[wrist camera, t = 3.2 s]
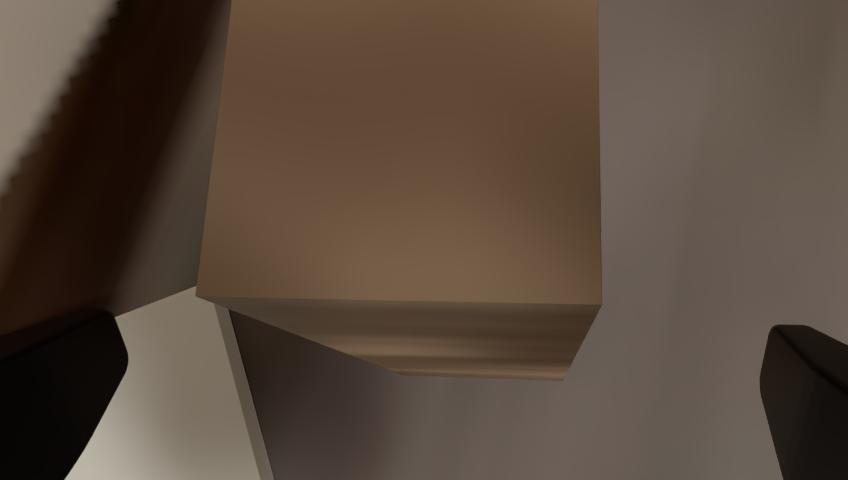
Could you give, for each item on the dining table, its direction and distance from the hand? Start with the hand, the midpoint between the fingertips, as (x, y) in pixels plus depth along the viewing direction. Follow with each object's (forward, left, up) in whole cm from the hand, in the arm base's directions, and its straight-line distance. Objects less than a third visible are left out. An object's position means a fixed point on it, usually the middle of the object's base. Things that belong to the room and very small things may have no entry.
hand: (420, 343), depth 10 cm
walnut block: (+2, -1, -11) cm, 11 cm away
